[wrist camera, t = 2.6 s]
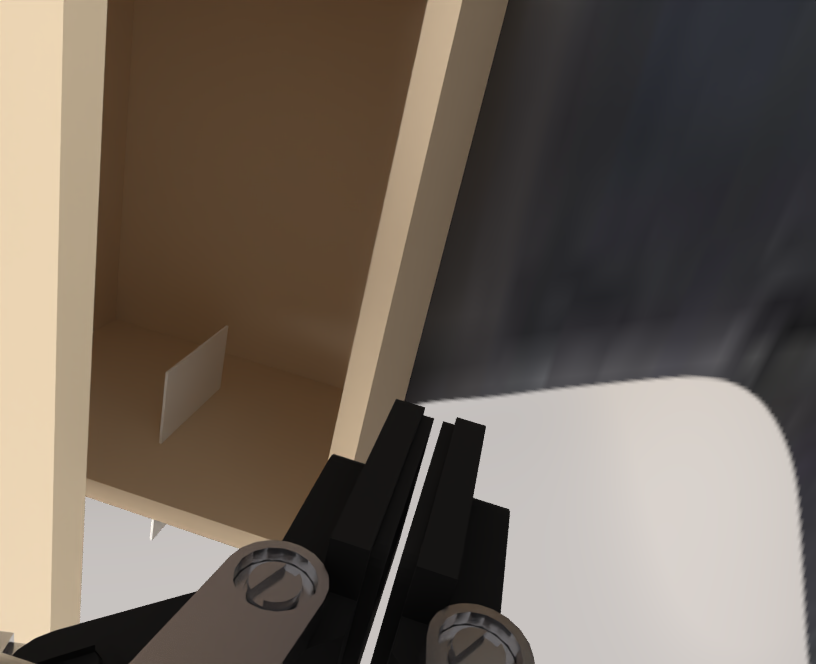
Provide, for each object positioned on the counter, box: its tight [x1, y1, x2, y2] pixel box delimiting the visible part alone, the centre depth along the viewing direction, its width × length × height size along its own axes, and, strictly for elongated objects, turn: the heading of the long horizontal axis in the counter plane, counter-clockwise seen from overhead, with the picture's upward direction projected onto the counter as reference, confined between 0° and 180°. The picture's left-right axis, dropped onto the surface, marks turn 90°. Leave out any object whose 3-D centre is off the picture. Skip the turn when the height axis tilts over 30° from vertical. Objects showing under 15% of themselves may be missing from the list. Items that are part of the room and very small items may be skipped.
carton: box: [85, 0, 509, 549], centre depth 26 cm, size 16×24×12 cm, turn 167°
